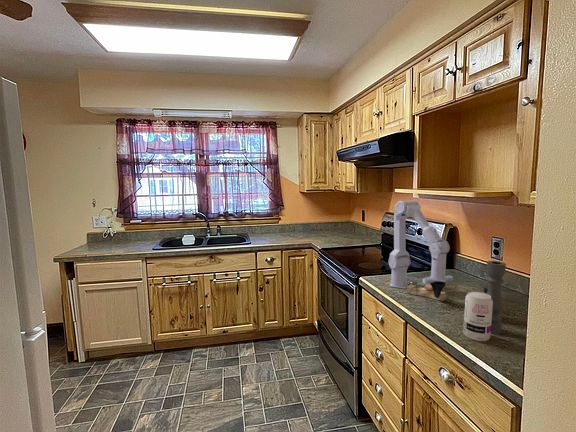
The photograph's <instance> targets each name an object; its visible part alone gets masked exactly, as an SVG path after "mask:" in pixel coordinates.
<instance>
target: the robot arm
mask: <svg viewBox="0 0 576 432" xmlns="http://www.w3.org/2000/svg"><path fill="white" fill-rule="evenodd" d="M408 217H412V218H413V219H414V221H415V222H416V223H417V224H418V226H419V227H420V228H421V230H422V231H421V234H422V236H423V237H424V239H425V240H426V242H427V243H428V244H429V246H428V250H429V252H430V256H431V265H430V266H431V267H430V268H431V269H430V276H427V277H423V278H422V283H423V284H424V285H427V284H428V283H429V284H431V286H432V288H433V292H434V296H435V297H436V298H439V296H440V294H441V292H443V289H444V288H445V287H446V282H449V281H450V282H452V281H453V282H454V280H453V279H454V277H453V276H452V275H446V267H447V266H446V265H447V254H448V253H449V252H450V249H451V247H450V244H449V242H448V241H447V240H445V239H443V238H442V236H441V235H440V234H439V232H438V231H437V228H435V227H434V226H430V225H429V222H428V221H427V218H426V217H425V215H424V213H423V212H422V210H421V205H420V204H419V202H418V200H415V199H413V200H399V201H397V202H396V204H395V205H394V213H393V248H394V249H393V250H392V251H391V252H390V253H389V258H388V265H389V267H390V269H391V276H390V277H391V279H390V284H389V286H388V287H391V288H399V289H406V290H407V286H409V282H407V275H408V274H407V273H408V272H407V270H408V269H409V267H410V265H411V258H410V253H409V252H408V251H407V250H406V246H407V245H406V241H407V240H406V231H407V230H406V225H407V224H406V221H407V218H408Z"/></svg>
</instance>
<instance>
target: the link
mask: <svg viewBox="0 0 576 432" xmlns="http://www.w3.org/2000/svg"><path fill="white" fill-rule="evenodd" d="M406 294H411V295H414V296H420V297H424V298H430V299H433V300H437V301H442V302H444V300H446V292H445V291H441V294H440V296H439V298H436V297H435V296H434V292H433V290H428V289H424V287H422V286H419V285H417V284H416V285H415V288H413V287H411V283H409V284H408V285H407V287H406Z"/></svg>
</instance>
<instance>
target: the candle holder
mask: <svg viewBox="0 0 576 432" xmlns="http://www.w3.org/2000/svg"><path fill="white" fill-rule="evenodd" d="M506 267H507V263H505V262H502V261H496V260H488V261H486V270H485V271H486V273H487V275H488V277H487V278H486V281H487V286H488V291H487V294H488V295H490V296H491V298H492V300H493V308H492V321H491V334H493V335H499V334H502V332H503V331H502V329H503V322H502V317H501V316H500V314H501V312H502V311H503V309H504V303H503V298H502V293H501V292H502V284H504V282H505V280H504V279H503V277H504V276H505V274H506Z"/></svg>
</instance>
